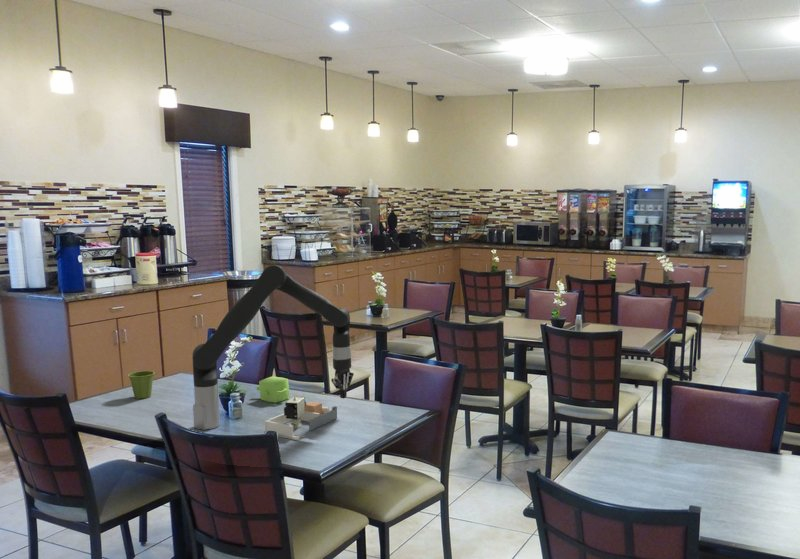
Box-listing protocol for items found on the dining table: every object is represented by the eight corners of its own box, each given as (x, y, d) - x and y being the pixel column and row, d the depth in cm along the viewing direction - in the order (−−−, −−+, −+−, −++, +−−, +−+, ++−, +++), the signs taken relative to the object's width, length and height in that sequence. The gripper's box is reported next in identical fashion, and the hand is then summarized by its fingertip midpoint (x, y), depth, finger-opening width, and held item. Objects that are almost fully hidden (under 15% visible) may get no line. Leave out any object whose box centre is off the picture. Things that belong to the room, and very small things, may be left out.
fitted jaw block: (314, 420, 277) (314, 406, 277) (305, 418, 280) (304, 404, 279) (322, 417, 281) (321, 403, 281) (312, 415, 284) (312, 401, 283)
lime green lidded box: (251, 400, 315) (249, 380, 314) (267, 394, 323) (265, 374, 321) (278, 405, 304) (276, 385, 303) (294, 399, 312) (292, 379, 311)
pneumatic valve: (307, 422, 275) (306, 393, 274) (296, 432, 264) (295, 401, 262) (294, 421, 276) (293, 392, 275) (282, 431, 265) (281, 401, 264)
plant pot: (161, 394, 326) (159, 371, 324) (146, 401, 314) (145, 377, 313) (139, 393, 328) (137, 370, 327) (123, 400, 317) (122, 376, 316)
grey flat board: (311, 430, 265) (310, 417, 264) (308, 430, 266) (308, 417, 265) (337, 418, 279) (337, 406, 279) (335, 418, 280) (334, 406, 279)
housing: (298, 440, 258) (297, 427, 257) (265, 433, 266) (264, 421, 266) (339, 421, 280) (338, 409, 279) (307, 415, 288) (306, 403, 288)
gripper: (343, 352, 289) (345, 392, 291) (324, 359, 278) (326, 400, 280) (358, 354, 285) (359, 394, 287) (339, 361, 274) (341, 403, 276)
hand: (343, 397), depth 283 cm, fingers closed
